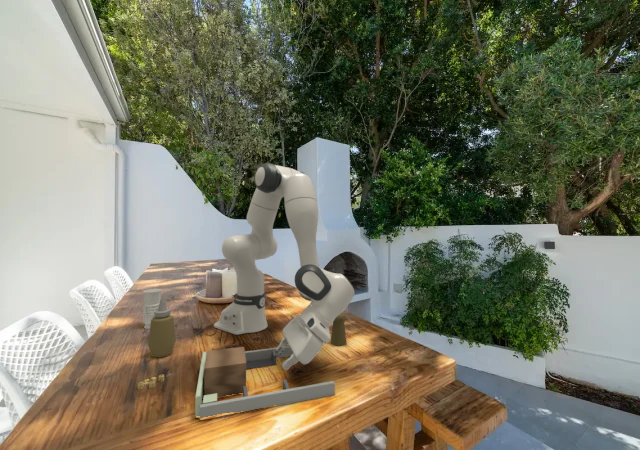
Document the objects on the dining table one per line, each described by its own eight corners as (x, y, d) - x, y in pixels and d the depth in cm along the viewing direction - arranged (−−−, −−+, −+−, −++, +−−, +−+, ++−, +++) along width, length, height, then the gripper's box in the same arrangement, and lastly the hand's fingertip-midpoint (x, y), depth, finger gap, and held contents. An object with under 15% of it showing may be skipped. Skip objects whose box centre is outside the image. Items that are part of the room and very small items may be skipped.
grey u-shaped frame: (307, 352, 96) (307, 343, 96) (334, 394, 73) (334, 382, 73) (206, 366, 86) (206, 356, 86) (199, 421, 62) (199, 407, 62)
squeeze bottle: (181, 350, 97) (181, 297, 97) (160, 361, 89) (161, 304, 89) (163, 346, 99) (163, 295, 99) (141, 357, 92) (142, 301, 92)
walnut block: (243, 374, 82) (244, 346, 82) (245, 393, 73) (246, 362, 73) (207, 379, 79) (207, 351, 79) (204, 400, 70) (204, 368, 70)
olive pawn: (345, 347, 101) (346, 316, 101) (328, 345, 102) (329, 314, 102) (347, 340, 107) (347, 311, 107) (331, 338, 108) (331, 309, 108)
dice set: (165, 381, 79) (165, 374, 79) (155, 391, 74) (155, 384, 74) (147, 381, 79) (147, 374, 79) (135, 391, 74) (135, 384, 74)
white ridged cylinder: (138, 327, 117) (138, 291, 117) (153, 322, 123) (154, 288, 123) (150, 330, 114) (150, 293, 114) (165, 324, 121) (165, 289, 121)
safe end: (218, 366, 86) (218, 350, 86) (216, 415, 64) (217, 393, 64) (202, 368, 85) (202, 352, 85) (195, 419, 63) (195, 396, 63)
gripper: (297, 305, 93) (267, 338, 90) (317, 327, 73) (279, 370, 70) (310, 317, 94) (281, 350, 91) (332, 342, 75) (296, 385, 72)
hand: (280, 359), depth 81 cm, fingers open, 8 cm apart
